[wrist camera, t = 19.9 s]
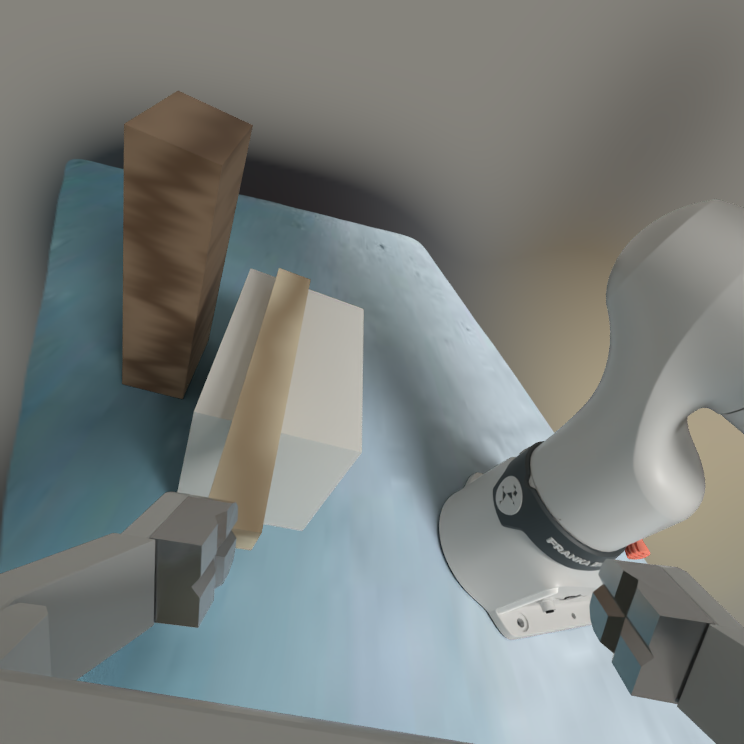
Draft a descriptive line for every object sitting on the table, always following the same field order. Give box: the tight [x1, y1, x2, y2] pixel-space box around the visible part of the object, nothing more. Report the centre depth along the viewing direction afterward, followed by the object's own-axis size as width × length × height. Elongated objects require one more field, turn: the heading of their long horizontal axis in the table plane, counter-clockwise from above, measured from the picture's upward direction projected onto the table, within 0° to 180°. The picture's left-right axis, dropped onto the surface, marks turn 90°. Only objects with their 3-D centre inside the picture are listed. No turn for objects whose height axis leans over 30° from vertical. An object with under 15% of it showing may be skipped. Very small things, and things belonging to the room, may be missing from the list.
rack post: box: [122, 91, 252, 399], centre depth 38 cm, size 6×10×26 cm, turn 1°
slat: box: [209, 268, 310, 550], centre depth 29 cm, size 3×24×2 cm, turn 1°
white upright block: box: [177, 269, 364, 531], centre depth 39 cm, size 12×18×15 cm, turn 1°
